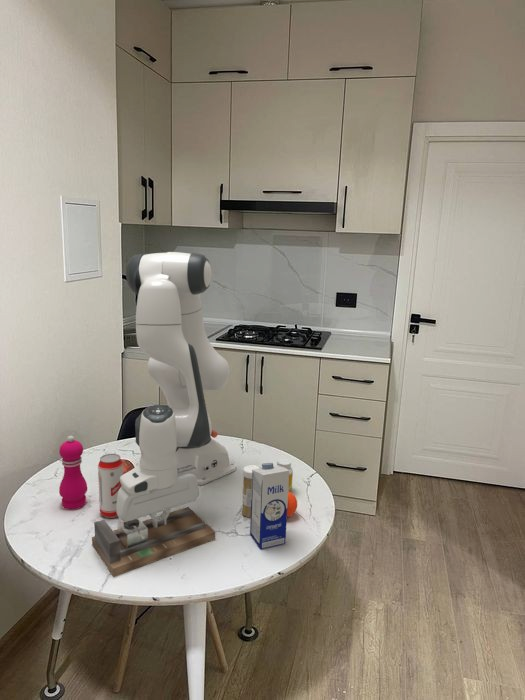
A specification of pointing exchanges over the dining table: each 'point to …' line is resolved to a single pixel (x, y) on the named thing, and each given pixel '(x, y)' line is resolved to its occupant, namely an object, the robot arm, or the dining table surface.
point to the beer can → (109, 483)
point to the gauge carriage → (132, 532)
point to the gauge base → (151, 541)
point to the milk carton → (269, 505)
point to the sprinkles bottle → (247, 489)
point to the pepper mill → (72, 475)
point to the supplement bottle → (287, 464)
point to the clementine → (291, 504)
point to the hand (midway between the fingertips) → (159, 525)
